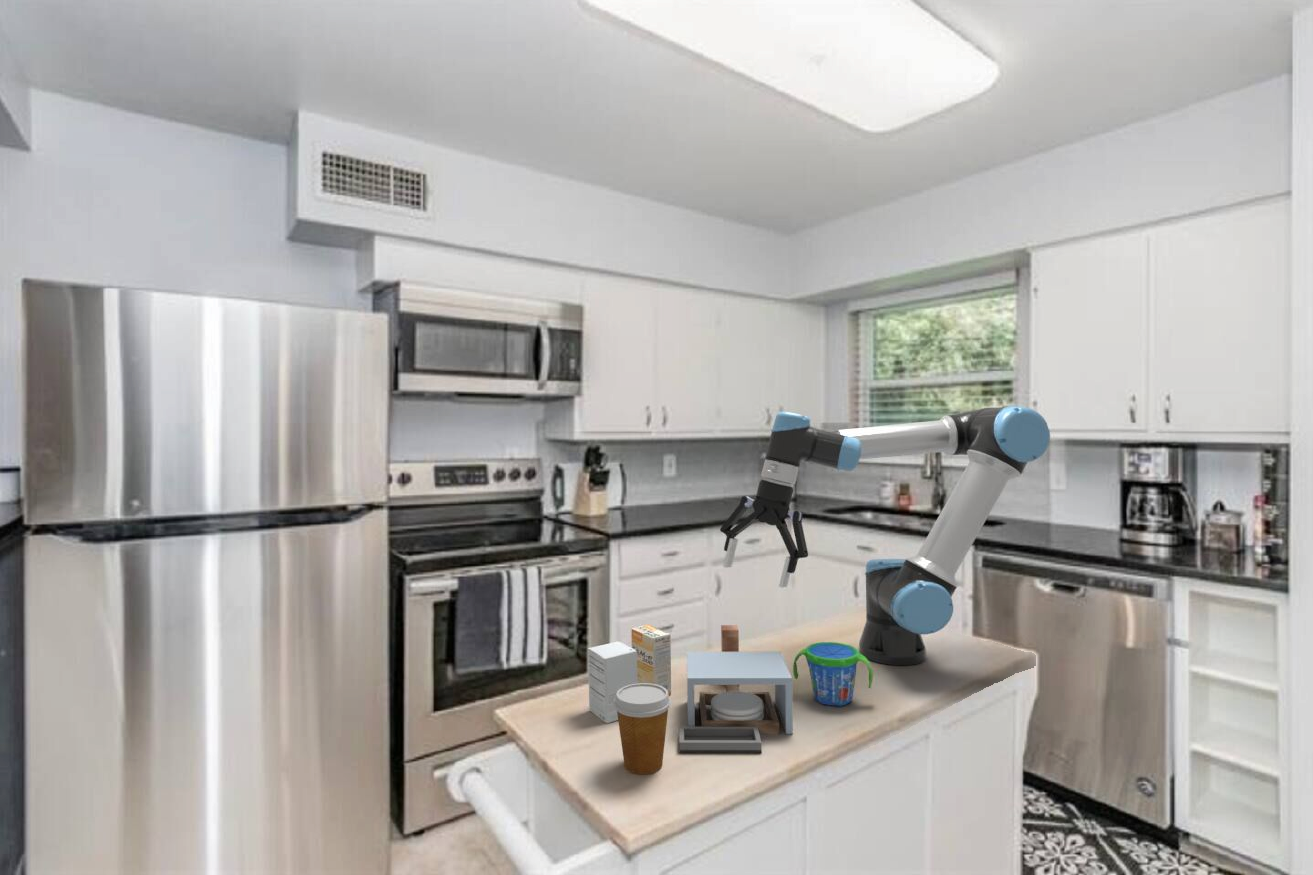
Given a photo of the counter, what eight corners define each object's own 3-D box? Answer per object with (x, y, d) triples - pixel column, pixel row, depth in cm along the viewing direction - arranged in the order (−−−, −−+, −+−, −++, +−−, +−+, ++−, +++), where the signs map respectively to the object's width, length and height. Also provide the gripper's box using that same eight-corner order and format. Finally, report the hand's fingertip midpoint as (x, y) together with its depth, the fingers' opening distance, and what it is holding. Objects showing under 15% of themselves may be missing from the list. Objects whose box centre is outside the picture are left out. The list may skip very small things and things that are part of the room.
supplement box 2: (630, 688, 142) (629, 627, 142) (649, 683, 145) (648, 623, 145) (653, 701, 136) (652, 637, 136) (672, 695, 139) (671, 632, 138)
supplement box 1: (620, 701, 136) (619, 640, 136) (639, 714, 130) (638, 650, 129) (588, 710, 132) (586, 647, 132) (605, 724, 126) (604, 657, 125)
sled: (761, 679, 146) (761, 625, 146) (779, 733, 121) (778, 668, 120) (698, 679, 147) (697, 625, 147) (701, 733, 121) (700, 668, 121)
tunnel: (781, 701, 135) (780, 651, 134) (792, 733, 121) (792, 677, 120) (687, 701, 135) (686, 651, 135) (688, 733, 121) (687, 678, 121)
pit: (757, 736, 120) (757, 726, 120) (761, 752, 114) (761, 742, 114) (679, 736, 120) (679, 726, 120) (679, 752, 114) (679, 742, 114)
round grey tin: (736, 735, 121) (735, 716, 121) (700, 716, 129) (700, 698, 129) (774, 719, 127) (774, 701, 127) (737, 702, 135) (737, 685, 135)
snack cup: (787, 702, 134) (786, 651, 134) (802, 683, 144) (802, 636, 143) (866, 717, 127) (866, 664, 127) (877, 697, 136) (877, 647, 136)
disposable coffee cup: (645, 745, 117) (644, 677, 117) (684, 764, 110) (682, 692, 110) (602, 764, 111) (601, 693, 111) (641, 786, 104) (639, 710, 104)
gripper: (720, 467, 149) (697, 559, 150) (826, 496, 136) (801, 596, 136) (734, 470, 156) (713, 558, 156) (837, 497, 142) (813, 593, 142)
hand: (754, 576), depth 146 cm, fingers open, 13 cm apart
